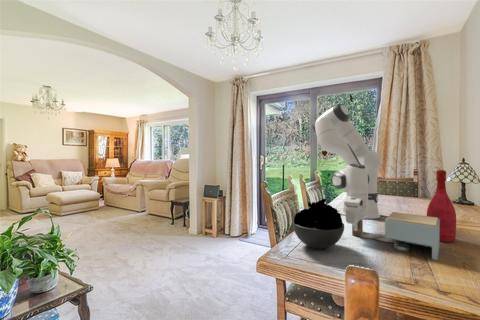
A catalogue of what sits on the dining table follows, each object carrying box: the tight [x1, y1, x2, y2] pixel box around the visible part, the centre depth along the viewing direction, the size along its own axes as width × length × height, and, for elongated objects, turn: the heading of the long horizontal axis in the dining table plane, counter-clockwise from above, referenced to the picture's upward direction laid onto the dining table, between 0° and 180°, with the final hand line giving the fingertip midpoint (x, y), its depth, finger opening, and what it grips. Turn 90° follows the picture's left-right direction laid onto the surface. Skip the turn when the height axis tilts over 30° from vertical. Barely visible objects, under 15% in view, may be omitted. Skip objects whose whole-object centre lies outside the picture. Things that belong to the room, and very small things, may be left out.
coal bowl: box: [292, 198, 345, 250], centre depth 97 cm, size 20×20×19 cm
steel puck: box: [393, 242, 410, 253], centre depth 94 cm, size 5×5×2 cm
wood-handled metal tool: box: [351, 219, 400, 244], centre depth 106 cm, size 18×4×7 cm, turn 48°
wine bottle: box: [426, 169, 457, 243], centre depth 104 cm, size 10×10×30 cm
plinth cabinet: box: [384, 211, 440, 261], centre depth 94 cm, size 16×14×12 cm
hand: (357, 229), depth 110 cm, fingers closed on wood-handled metal tool, 3 cm apart
